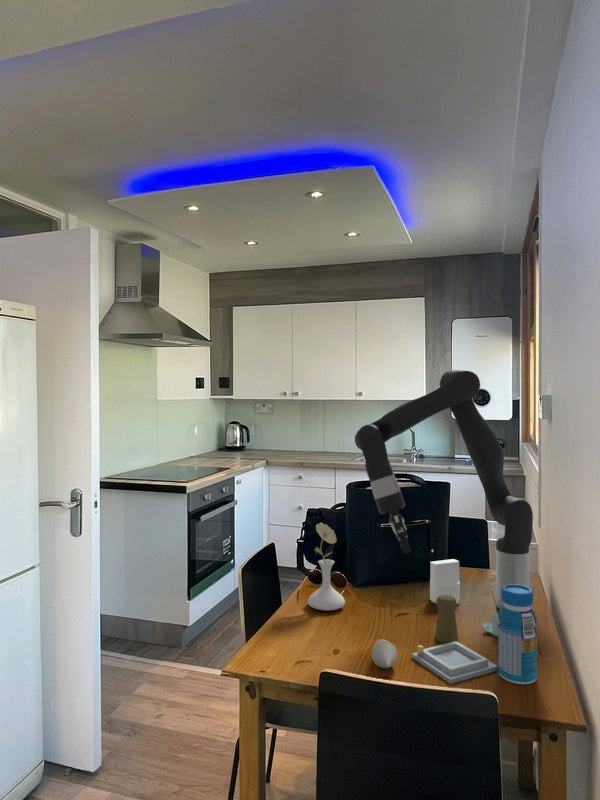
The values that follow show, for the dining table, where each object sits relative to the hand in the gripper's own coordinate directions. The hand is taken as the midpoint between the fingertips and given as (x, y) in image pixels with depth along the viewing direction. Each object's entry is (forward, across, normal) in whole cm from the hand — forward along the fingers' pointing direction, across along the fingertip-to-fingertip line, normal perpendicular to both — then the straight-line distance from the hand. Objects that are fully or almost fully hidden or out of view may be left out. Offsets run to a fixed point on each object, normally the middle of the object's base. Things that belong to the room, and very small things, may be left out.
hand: (406, 550), depth 153 cm
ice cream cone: (+22, -20, +14) cm, 33 cm away
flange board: (+26, -16, -1) cm, 30 cm away
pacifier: (+28, +2, -16) cm, 32 cm away
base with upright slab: (+21, +26, -7) cm, 34 cm away
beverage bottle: (+31, -20, -14) cm, 40 cm away
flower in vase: (+11, +17, +28) cm, 35 cm away
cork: (+24, -2, -2) cm, 24 cm away
